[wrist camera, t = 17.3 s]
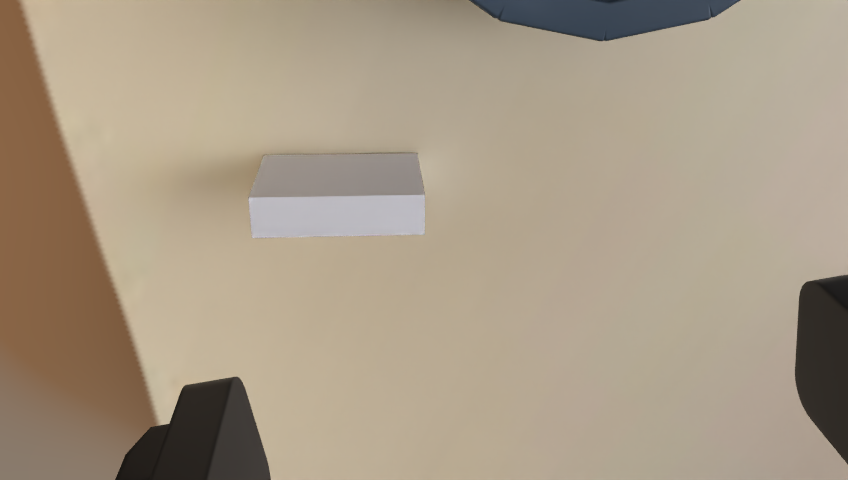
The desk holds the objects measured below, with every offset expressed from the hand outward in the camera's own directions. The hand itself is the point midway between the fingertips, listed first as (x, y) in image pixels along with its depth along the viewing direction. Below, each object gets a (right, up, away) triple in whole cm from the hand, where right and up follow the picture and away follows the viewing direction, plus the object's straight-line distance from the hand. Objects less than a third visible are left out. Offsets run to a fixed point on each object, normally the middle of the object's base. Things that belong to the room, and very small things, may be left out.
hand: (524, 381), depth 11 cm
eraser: (-4, +4, +14) cm, 15 cm away
